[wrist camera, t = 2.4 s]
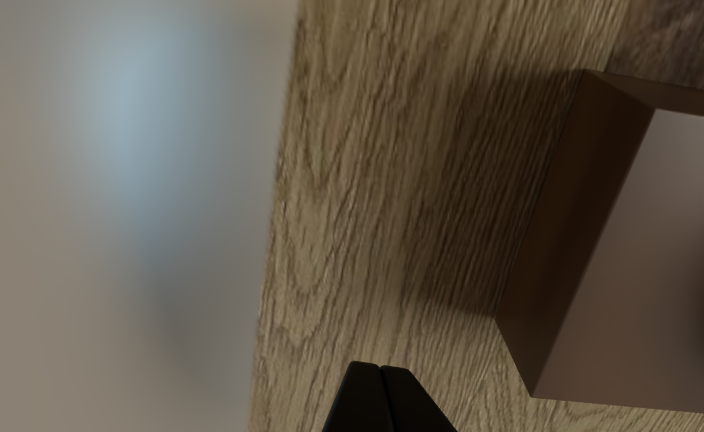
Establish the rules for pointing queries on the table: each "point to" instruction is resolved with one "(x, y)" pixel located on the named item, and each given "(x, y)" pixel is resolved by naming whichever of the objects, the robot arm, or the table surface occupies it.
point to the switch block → (616, 253)
